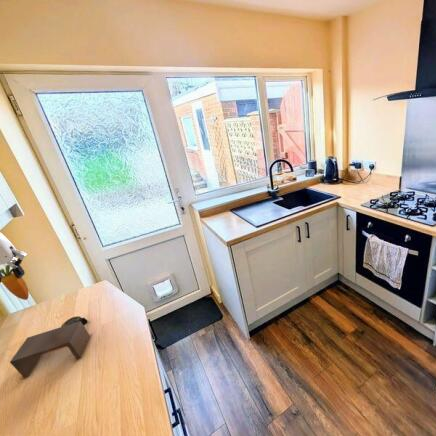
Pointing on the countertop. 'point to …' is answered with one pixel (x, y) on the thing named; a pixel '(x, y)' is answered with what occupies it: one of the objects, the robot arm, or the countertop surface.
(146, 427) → the countertop surface
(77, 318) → the tape measure
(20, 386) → the countertop surface
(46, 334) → the dark brown riser stand
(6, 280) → the carrot
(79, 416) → the countertop surface
